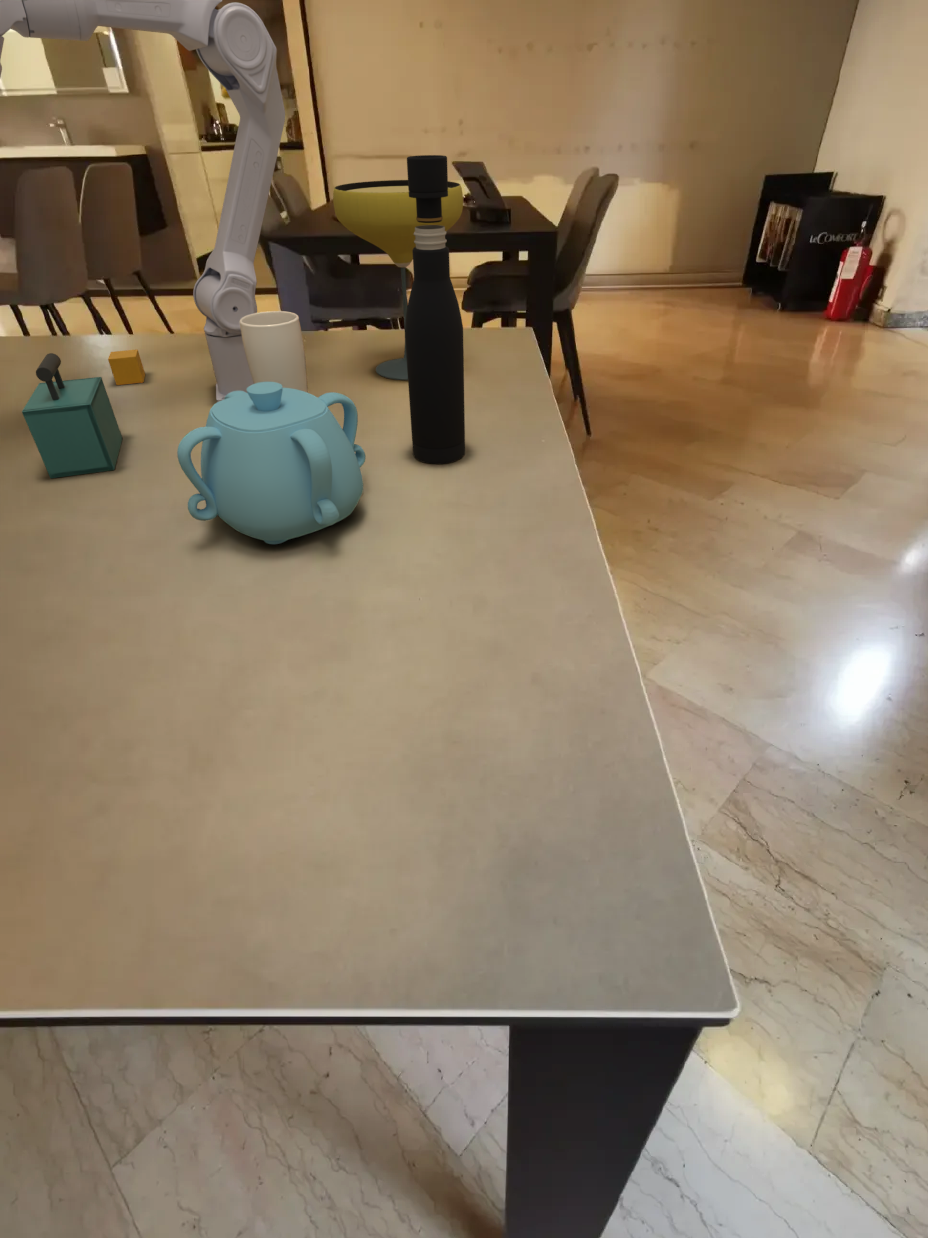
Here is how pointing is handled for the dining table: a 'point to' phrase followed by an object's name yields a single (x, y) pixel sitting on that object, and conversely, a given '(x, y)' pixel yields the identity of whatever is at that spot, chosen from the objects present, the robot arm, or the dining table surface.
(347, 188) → the cocktail glass
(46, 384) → the teal bevelled box
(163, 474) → the dining table surface
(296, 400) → the decorative pot
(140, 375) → the block
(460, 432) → the black bottle
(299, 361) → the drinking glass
